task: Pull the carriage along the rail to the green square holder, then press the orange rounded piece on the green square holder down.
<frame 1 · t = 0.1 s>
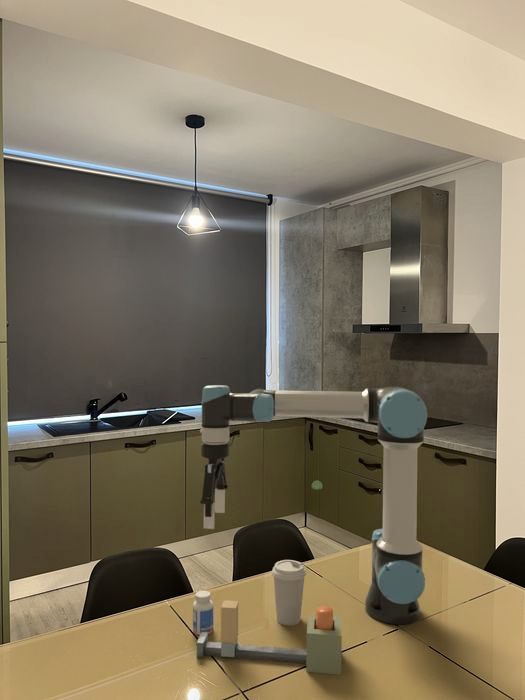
hand: (214, 520, 148), 28 cm above the table, fingers open, 13 cm apart
carriage: (229, 627, 133), point 6 cm above the table, slide at 0.0 cm
rail: (255, 656, 132), on the table
pill bottle: (203, 631, 144), on the table
green square holder: (323, 662, 130), on the table
coffee cup: (288, 620, 150), on the table
orange rounded piece: (324, 624, 130), point 9 cm above the table, slide at 0.0 cm
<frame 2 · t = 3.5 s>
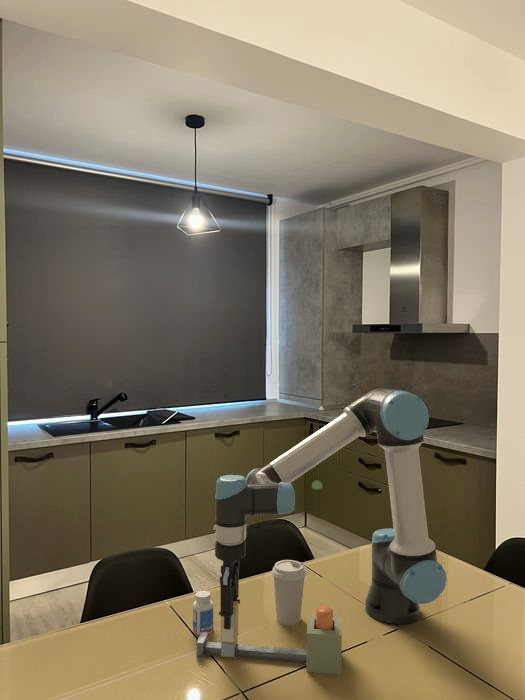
hand: (229, 635, 133), 5 cm above the table, fingers closed on carriage, 4 cm apart
carriage: (229, 627, 133), point 6 cm above the table, slide at 0.0 cm, touching gripper
everything else where it was.
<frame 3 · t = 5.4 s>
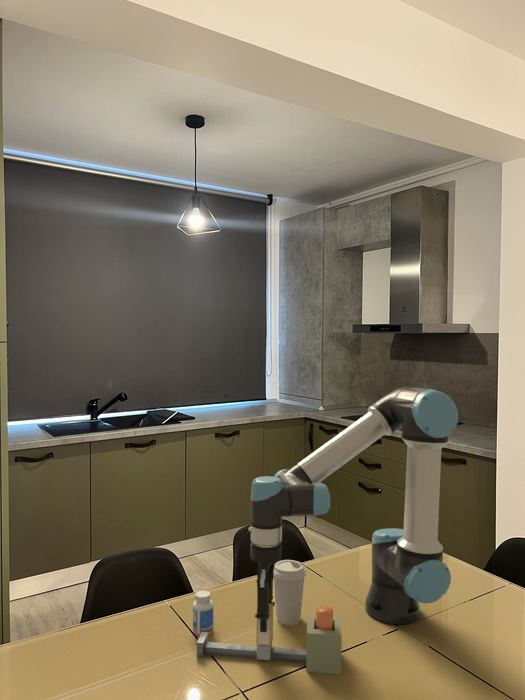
hand: (264, 638, 132), 5 cm above the table, fingers closed on carriage, 4 cm apart
carriage: (264, 630, 131), point 6 cm above the table, slide at 8.7 cm, touching gripper
everything else where it was.
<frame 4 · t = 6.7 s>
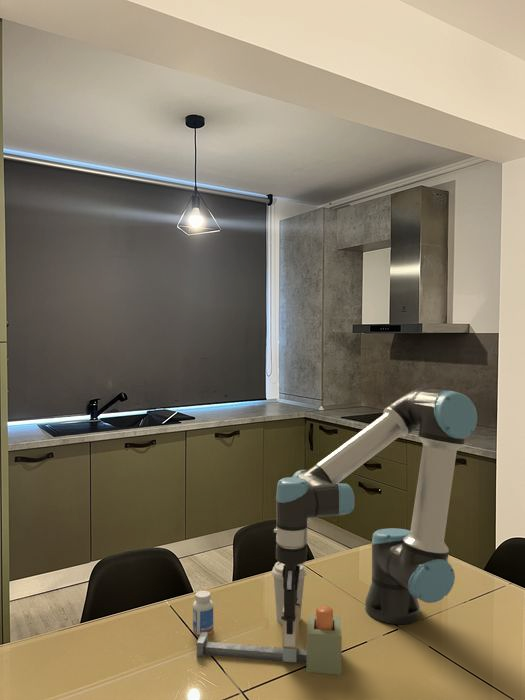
hand: (290, 640, 131), 5 cm above the table, fingers closed on carriage, 4 cm apart
carriage: (290, 632, 131), point 6 cm above the table, slide at 14.9 cm, touching gripper
everything else where it was.
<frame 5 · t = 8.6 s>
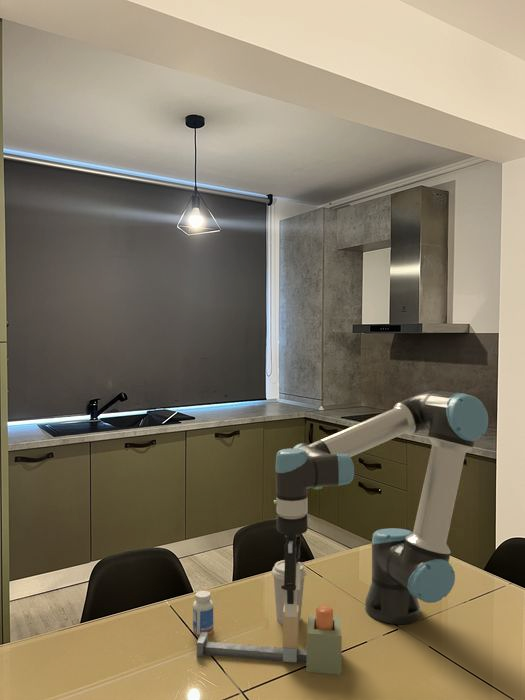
hand: (293, 602, 131), 14 cm above the table, fingers open, 13 cm apart
carriage: (290, 632, 131), point 6 cm above the table, slide at 15.0 cm
everything else where it was.
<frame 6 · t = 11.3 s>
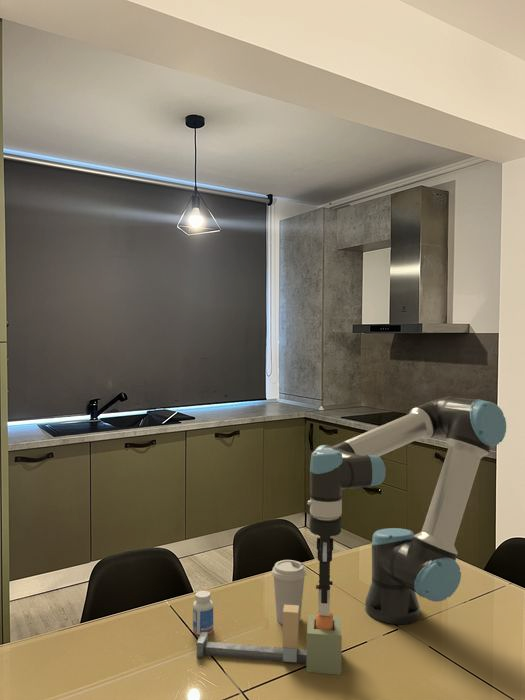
hand: (323, 614, 130), 12 cm above the table, fingers closed
orange rounded piece: (324, 629, 130), point 8 cm above the table, slide at 1.2 cm, touching gripper
everything else where it was.
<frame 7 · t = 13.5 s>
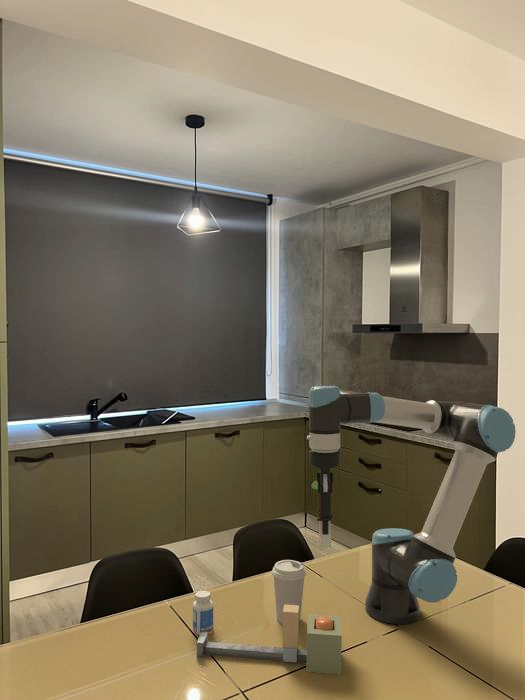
hand: (325, 545, 132), 27 cm above the table, fingers closed
orange rounded piece: (324, 635, 130), point 6 cm above the table, slide at 2.6 cm
everything else where it was.
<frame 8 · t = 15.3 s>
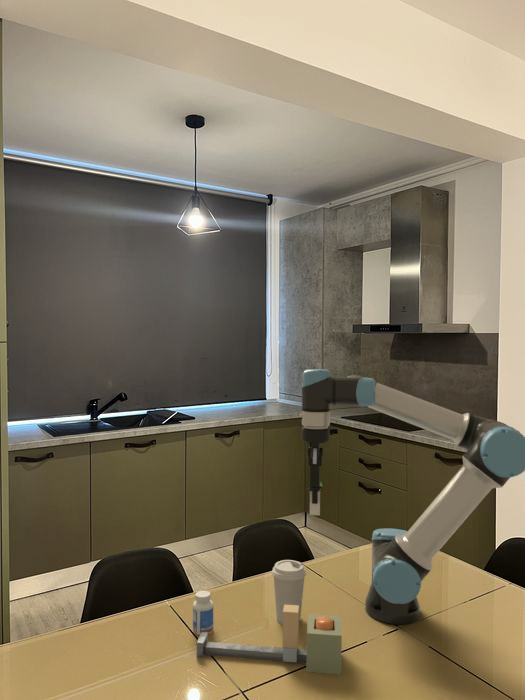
hand: (314, 514, 146), 30 cm above the table, fingers closed
nothing on the table moved.
at the end: carriage slide at 15.0 cm; orange rounded piece slide at 2.6 cm; the gripper is holding nothing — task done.
